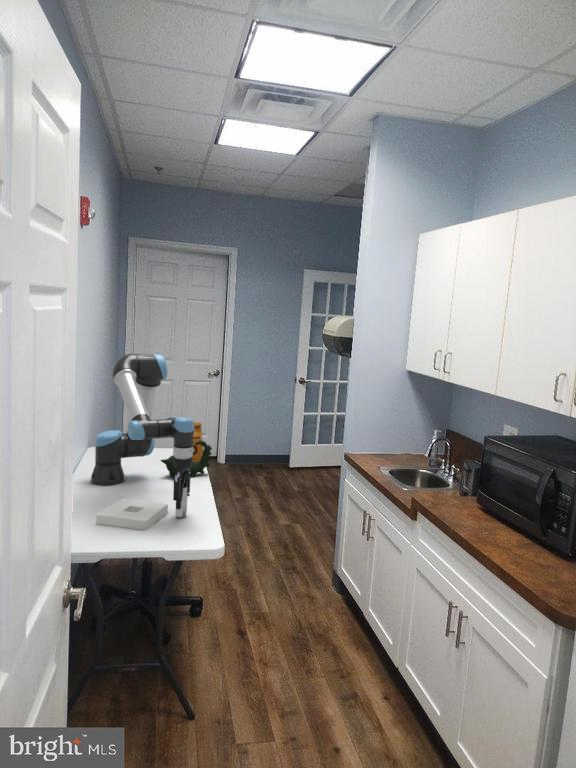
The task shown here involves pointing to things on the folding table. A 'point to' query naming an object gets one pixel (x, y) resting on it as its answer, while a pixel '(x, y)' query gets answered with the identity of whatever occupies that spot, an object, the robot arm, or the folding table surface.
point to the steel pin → (184, 502)
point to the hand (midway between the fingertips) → (181, 514)
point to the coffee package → (196, 437)
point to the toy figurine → (195, 466)
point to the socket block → (132, 514)
